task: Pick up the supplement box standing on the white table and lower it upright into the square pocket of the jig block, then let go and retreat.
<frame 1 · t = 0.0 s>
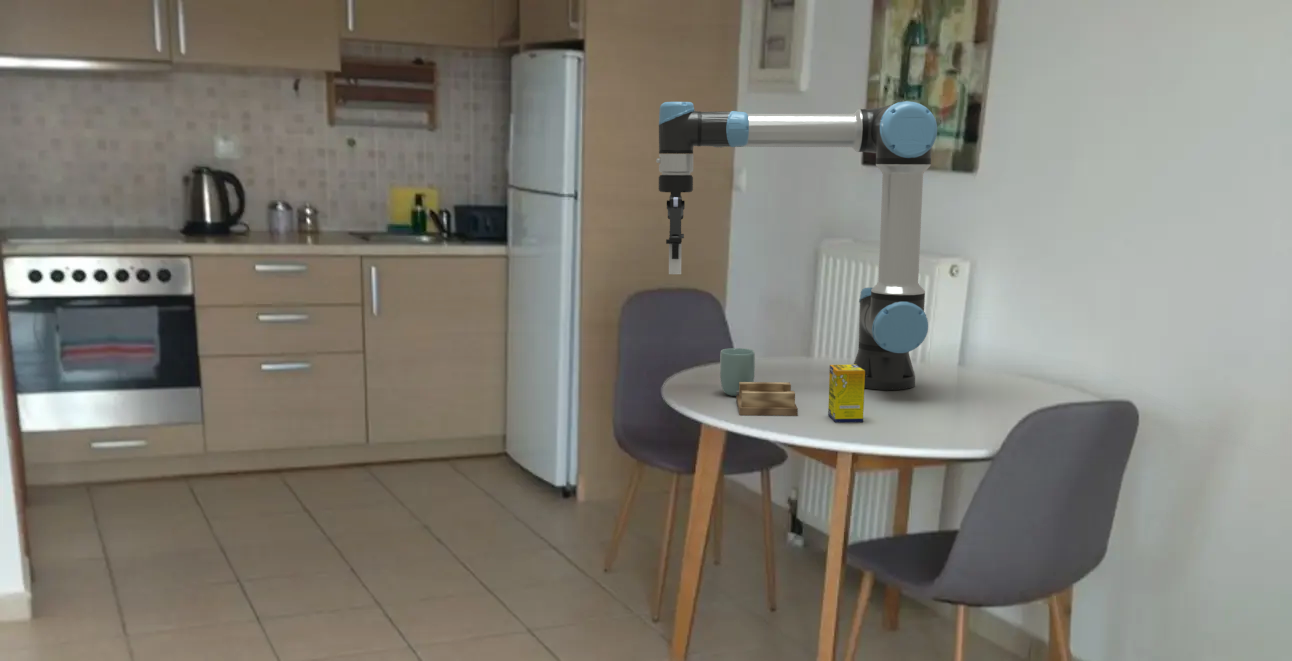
hand: (675, 270, 241), 28 cm above the table, fingers open, 13 cm apart
jig: (766, 408, 232), on the table
supplement box: (845, 420, 223), on the table
cup: (736, 395, 245), on the table
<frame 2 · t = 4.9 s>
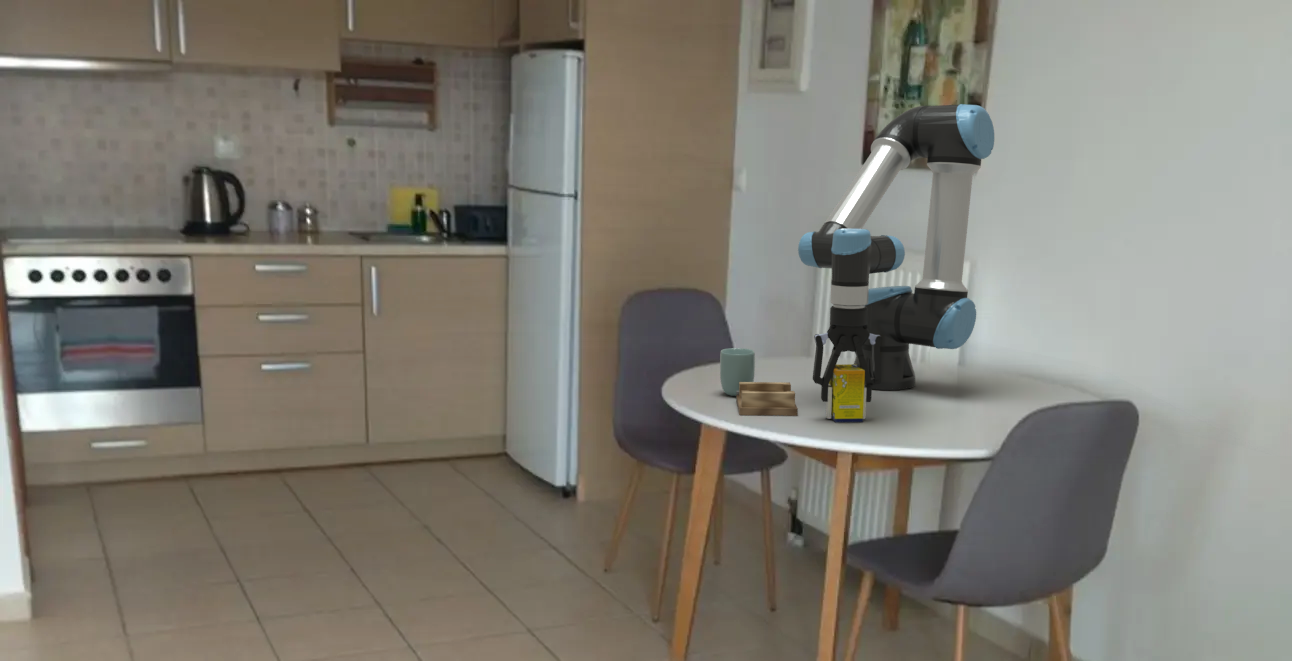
hand: (845, 416, 223), 0 cm above the table, fingers closed on supplement box, 6 cm apart
supplement box: (845, 420, 223), on the table, touching gripper
everything else where it was.
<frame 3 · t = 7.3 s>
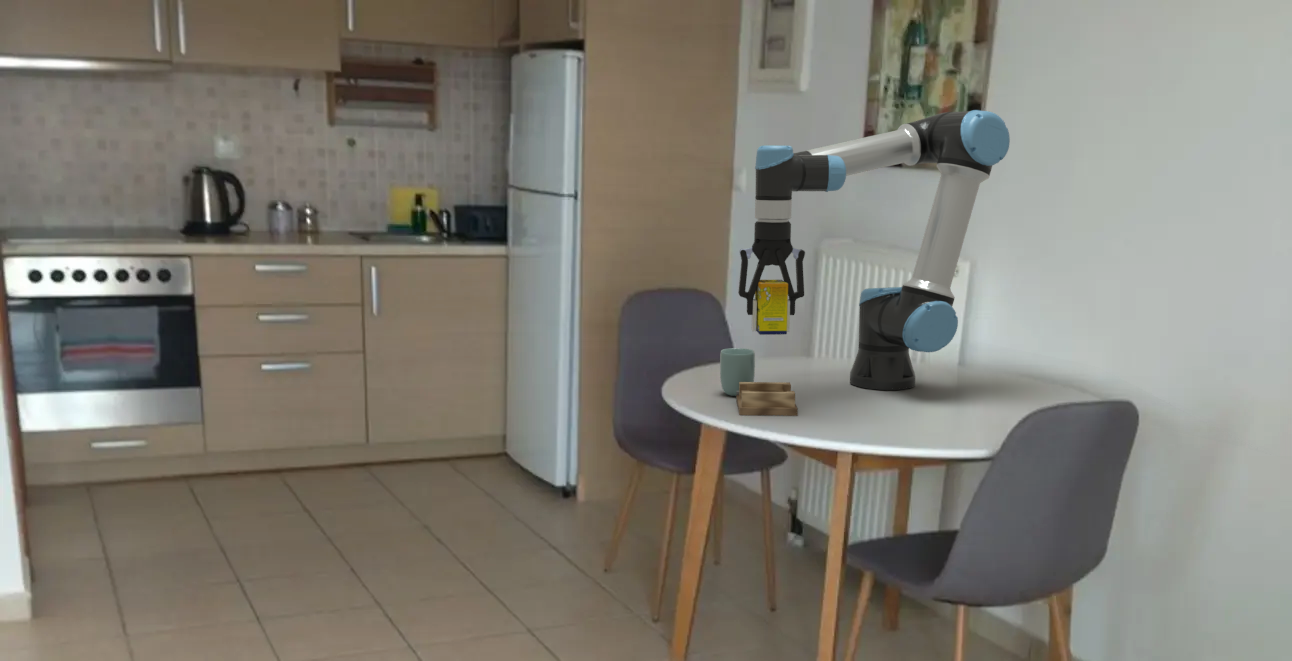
hand: (770, 330, 229), 17 cm above the table, fingers closed on supplement box, 6 cm apart
supplement box: (770, 333, 229), point 16 cm above the table, touching gripper
everything else where it was.
when the fingers open (3 cm above the table, at t = 10.0 s): supplement box stays where it is, resting on jig.
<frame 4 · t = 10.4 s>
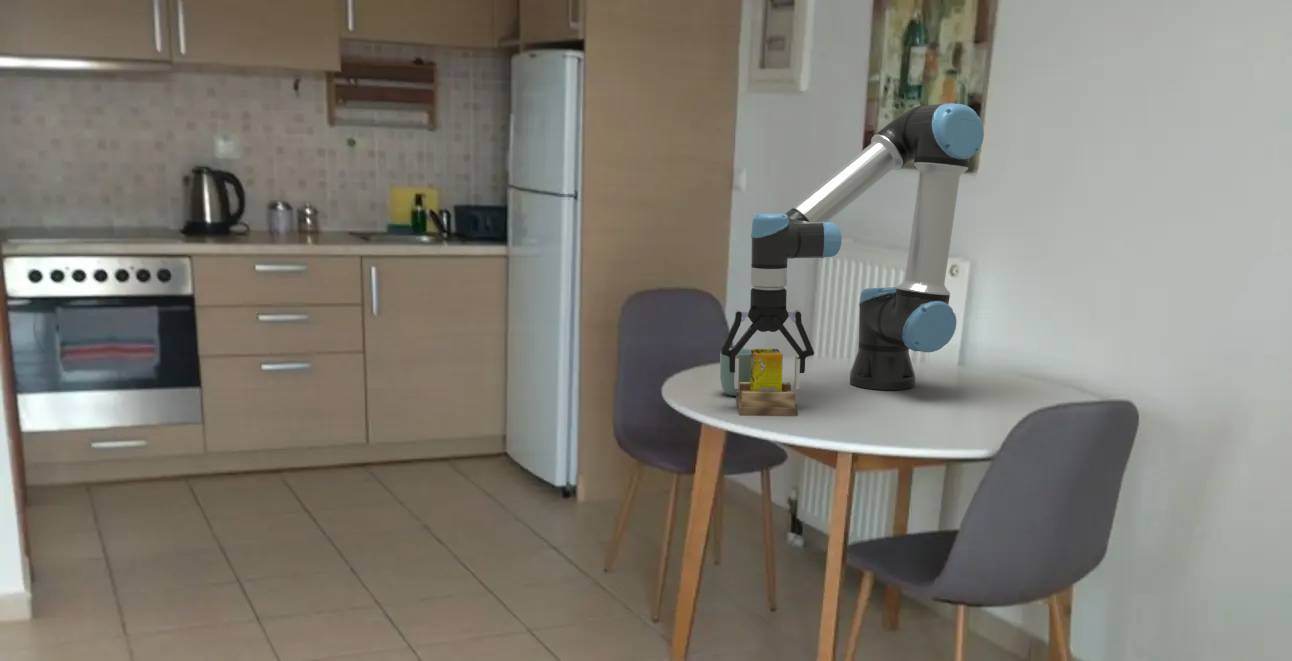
hand: (766, 387, 232), 4 cm above the table, fingers open, 12 cm apart
supplement box: (765, 402, 232), point 1 cm above the table, touching jig
everything else where it was.
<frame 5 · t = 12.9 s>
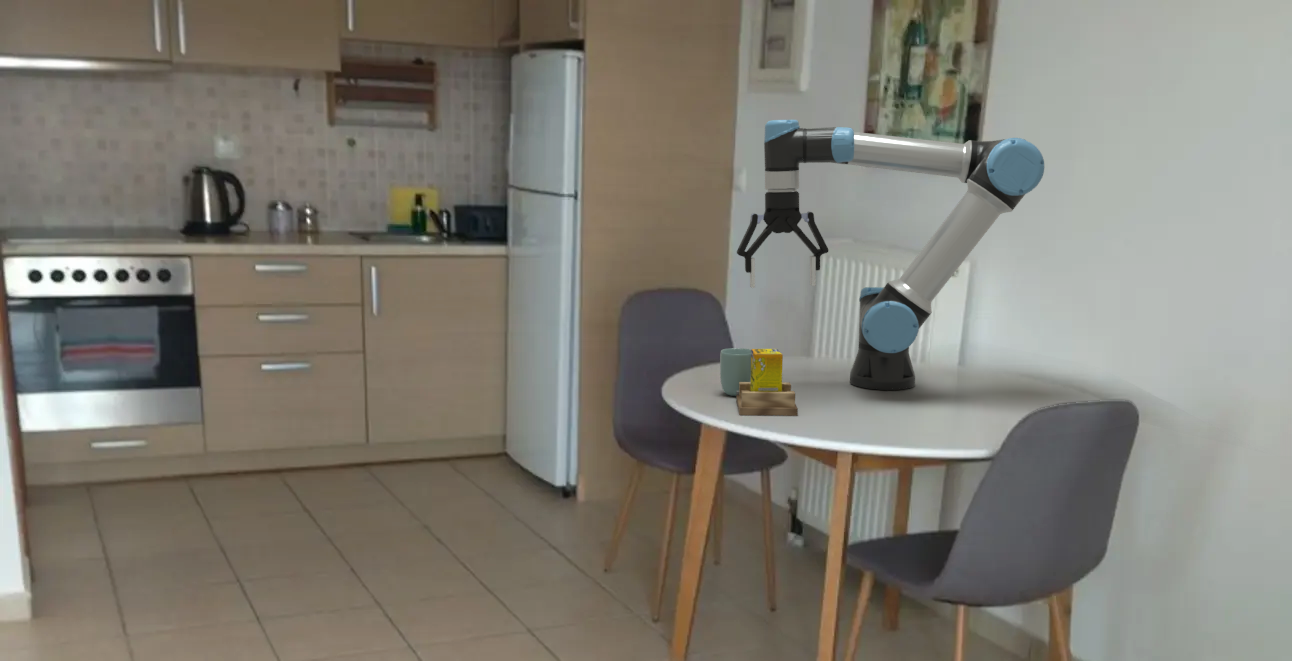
hand: (782, 286, 244), 24 cm above the table, fingers open, 13 cm apart
nothing on the table moved.
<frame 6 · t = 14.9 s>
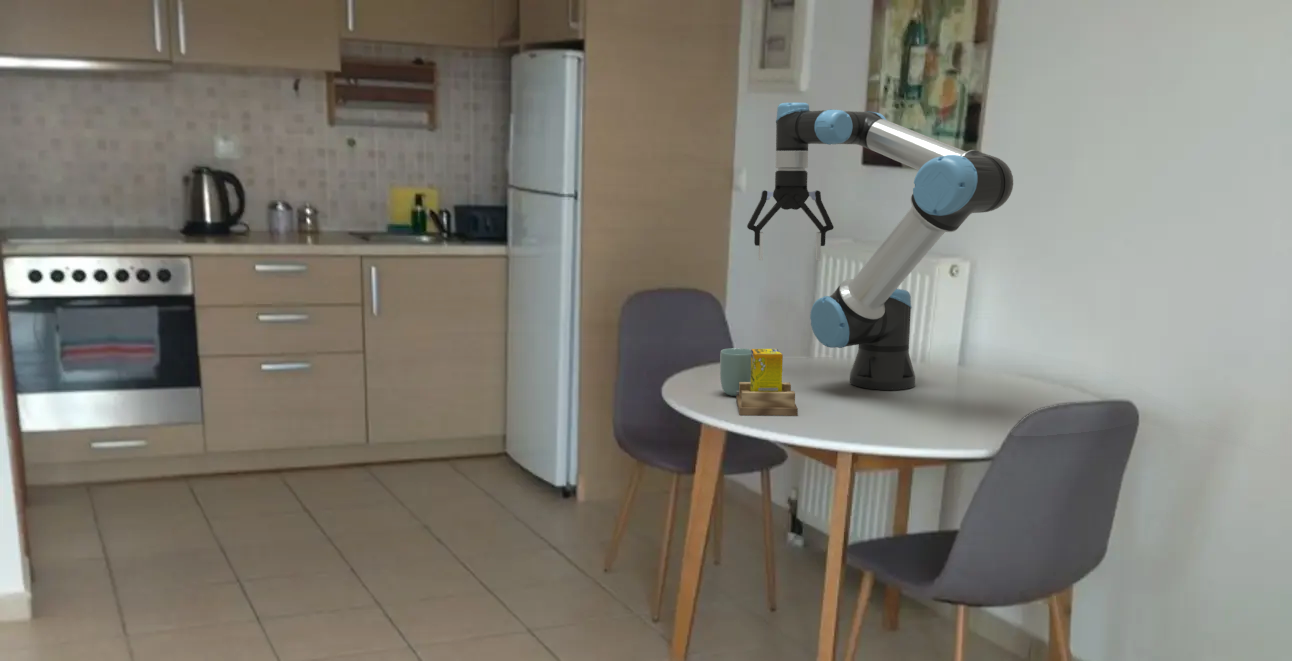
hand: (789, 259, 259), 29 cm above the table, fingers open, 13 cm apart
nothing on the table moved.
at the end: supplement box 0.1 cm off-centre on the jig, point 1.3 cm above the jig's base; supplement box tilted 0°; the gripper is holding nothing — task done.
